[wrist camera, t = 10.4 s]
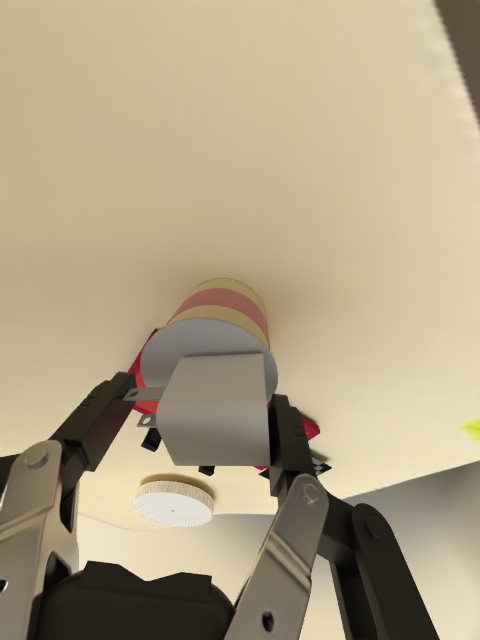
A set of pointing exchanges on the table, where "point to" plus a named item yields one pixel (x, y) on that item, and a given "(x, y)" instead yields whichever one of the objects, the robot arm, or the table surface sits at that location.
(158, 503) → the plastic lid
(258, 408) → the usb wall charger
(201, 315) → the yogurt pot
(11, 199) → the table surface
